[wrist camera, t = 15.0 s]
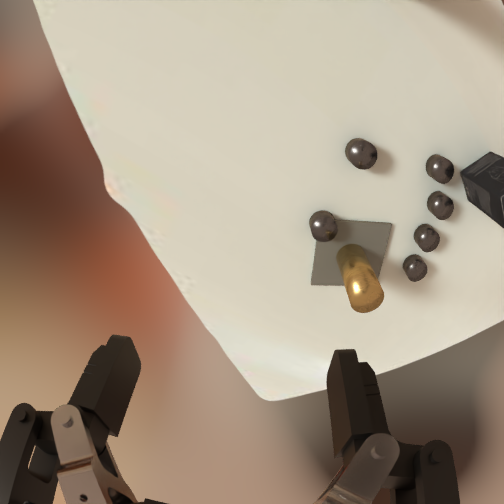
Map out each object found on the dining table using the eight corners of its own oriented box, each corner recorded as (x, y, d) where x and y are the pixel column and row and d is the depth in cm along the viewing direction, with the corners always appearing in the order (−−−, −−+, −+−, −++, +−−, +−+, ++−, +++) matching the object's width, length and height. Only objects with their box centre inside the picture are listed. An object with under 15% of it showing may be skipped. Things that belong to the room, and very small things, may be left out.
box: (467, 201, 36) (505, 231, 27) (458, 171, 34) (500, 197, 25) (498, 180, 34) (537, 205, 25) (490, 150, 31) (533, 171, 22)
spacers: (315, 134, 34) (319, 136, 32) (455, 155, 33) (464, 159, 31) (304, 271, 45) (305, 280, 42) (424, 272, 43) (430, 281, 41)
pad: (318, 218, 40) (319, 220, 39) (390, 222, 39) (391, 224, 39) (310, 282, 46) (311, 285, 45) (375, 283, 45) (376, 285, 45)
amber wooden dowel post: (338, 243, 41) (354, 285, 32) (366, 244, 41) (388, 285, 32) (334, 268, 43) (347, 313, 35) (361, 268, 43) (379, 312, 34)
